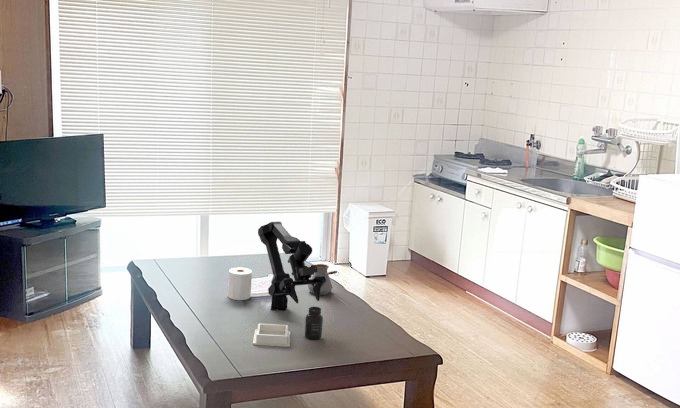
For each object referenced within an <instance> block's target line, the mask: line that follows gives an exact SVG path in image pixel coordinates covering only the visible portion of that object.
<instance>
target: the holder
mask: <svg viewBox="0 0 680 408" xmlns="http://www.w3.org/2000/svg"><path fill="white" fill-rule="evenodd" d="M288 329H289V325H288V324H279V323H277V324H275V323H258V324H257V329H254V335H253V341H252V346H270V347H271V346H272V347H285V348H286V347H287V348H288V347H290V346H291V330H288Z"/></svg>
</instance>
